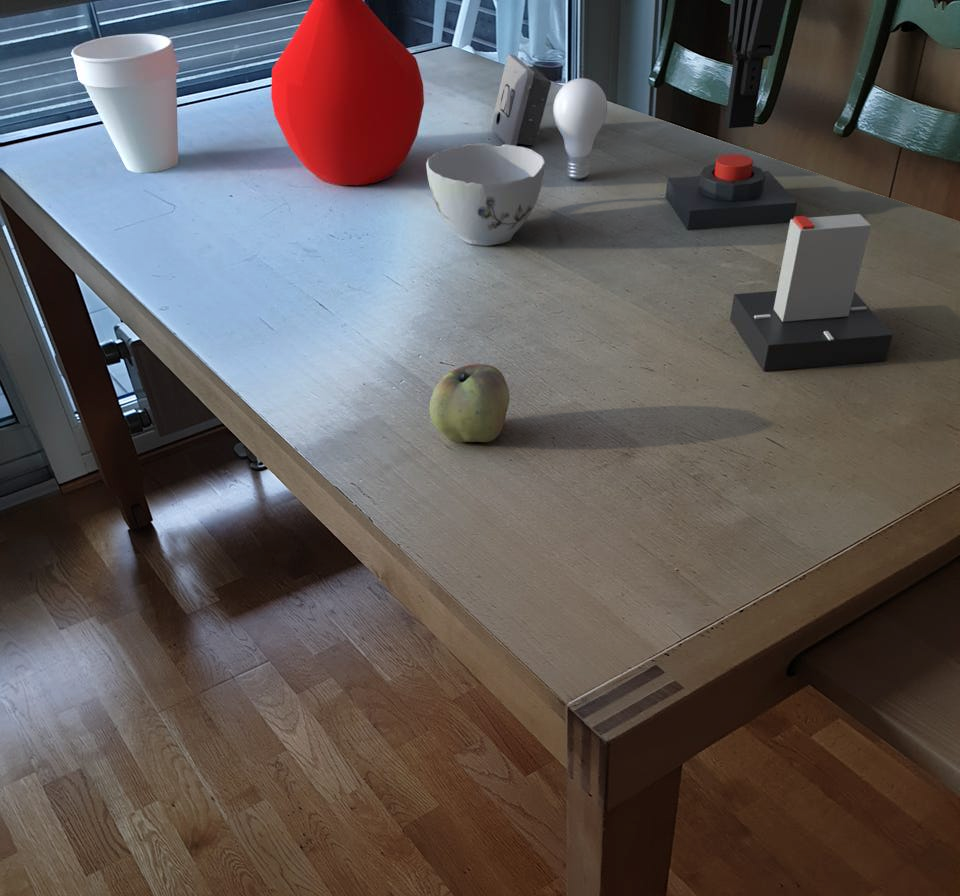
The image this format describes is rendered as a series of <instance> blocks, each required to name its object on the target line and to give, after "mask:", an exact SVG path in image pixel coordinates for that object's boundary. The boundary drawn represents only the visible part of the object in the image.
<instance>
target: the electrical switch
mask: <svg viewBox="0 0 960 896" xmlns="http://www.w3.org/2000/svg"><path fill="white" fill-rule="evenodd" d="M551 85H552V81H551V80H550V79H548V78H547V77H546V76H545V75H544V73H542V72H541V71H539V70H538V69H537V68H536V67H535V66H531V65H527V64H525V62H523V61H522V60H521V59H520V58H519V57H518V56H516V54H508V55H507V57H506V60H505V63H504V68H503V71H502V77H501V80H500V85H499V89H498V94H497V98H496V101H495V106H494V107H495V108H494V111H493V116H492V120H491V130H492V131H493V132H494V133H495V135H496V136H497V137H498V138H499V139H500V140H501V142H503V144H504V145H505V144H507V145H514V146H518V145H517V144H520V145H527V146H533V147H535V146H536V143H537V139H538V137H539V136H538V135H539V132H540V128H541V124H542V119H543V116H544V112H545V109H546V106H547V105H546V104H547V101H548V98H549V93H550V89H551Z"/></svg>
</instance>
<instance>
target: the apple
mask: <svg viewBox="0 0 960 896" xmlns="http://www.w3.org/2000/svg"><path fill="white" fill-rule="evenodd" d="M510 400H511V397H510V389H509V386H508V383H507V381H506V378H505V376H504V375H503V373H502V372H501V371H500V370H499V369H498V368H497V367H495V366H493V365H490V364H484V363H483V364H482V363H477V364H467V365H464V366H460V367H458V368H455V369H453V370H450V371H449V372H447V373H446V374H445V375H444V376H443V377H442V379H441V380H440V381H439V382H438V384H437V385H436V386H435V388H434V389H433V392H432V394H431V396H430V399H429V408H428V409H429V410H428V411H429V416H430V420H431V422H432V424H433V425H434V426H433V427H435V429H437V431H438V432H439V433H440V434H441V435H442V436H443V437H445V439H446V440H448V441H450V442H453V443H467V442H469V443H474V442H475V443H476V442H479V443H489V442H492V441H494V440H495V439H496V438H497V437H499V435H500V433H501V432H502V430H503V427H504V425H505V423H506V418H507V412H508V409H509V405H510Z"/></svg>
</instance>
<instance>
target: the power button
mask: <svg viewBox="0 0 960 896" xmlns="http://www.w3.org/2000/svg"><path fill="white" fill-rule="evenodd" d="M715 164H716V166H715V174H714V177H716V178H719V179H722V180H730V181H739V180H746V179H749V178H751V173H752V166H754V159H753V158H751V157H749V156H747V155H745V154H744V155H743V154H738V153H737V154H736V153H731V154H723V155H720V156H718V157H717V158H716V160H715Z"/></svg>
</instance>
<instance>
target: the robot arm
mask: <svg viewBox="0 0 960 896" xmlns="http://www.w3.org/2000/svg"><path fill="white" fill-rule="evenodd" d="M787 3H788V0H730V10H729V11H730V12H729V13H730V14H729V25H728V26H729V27H728V42H729V43H730V42H731V43H732V51H733V52H732V53H733V55H732V56H733V60H732V61H733V62H732V69H731V76H730V83H729V90H728V98H727V106H726V112H725V120H724V125H725V126H726V127H727V128H728V129H736V128H737V129H739V128H750V127H751V128H753V127H755V126H754V125H755V120H756V113H757V106H758V100H759V94H760V89H761V81H762V80H761V79H762V73H763V68H764V60H765V59H766V58H767V57H773V56H774V55H775V52H776V46H777V44H778V43H777V42H778V38H779V34H780V31H781V26H782V22H783V18H784V14H785V11H786V6H787Z"/></svg>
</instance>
